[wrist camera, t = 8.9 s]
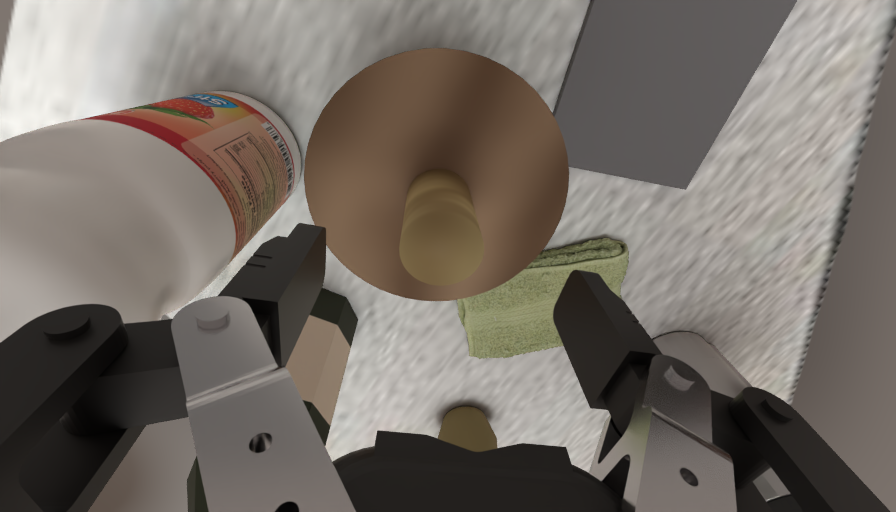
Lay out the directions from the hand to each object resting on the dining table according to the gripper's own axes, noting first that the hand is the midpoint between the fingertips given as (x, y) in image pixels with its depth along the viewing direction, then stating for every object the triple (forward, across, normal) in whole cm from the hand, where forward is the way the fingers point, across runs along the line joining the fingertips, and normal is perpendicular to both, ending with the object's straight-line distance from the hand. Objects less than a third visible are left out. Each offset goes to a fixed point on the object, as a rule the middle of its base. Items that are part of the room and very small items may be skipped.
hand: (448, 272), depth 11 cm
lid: (+8, 0, 0) cm, 8 cm away
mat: (+20, -16, -7) cm, 26 cm away
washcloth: (+21, -14, +15) cm, 29 cm away
